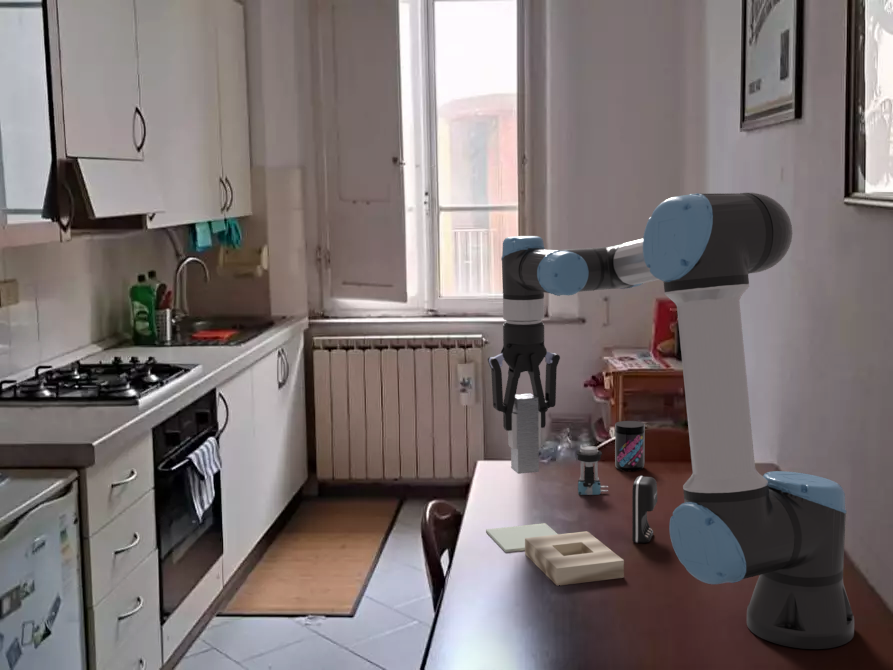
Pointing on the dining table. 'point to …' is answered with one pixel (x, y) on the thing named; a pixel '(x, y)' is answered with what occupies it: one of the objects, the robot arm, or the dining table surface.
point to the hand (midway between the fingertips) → (524, 445)
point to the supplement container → (629, 445)
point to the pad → (518, 535)
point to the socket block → (574, 558)
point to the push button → (589, 471)
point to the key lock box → (643, 507)
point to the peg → (526, 435)
